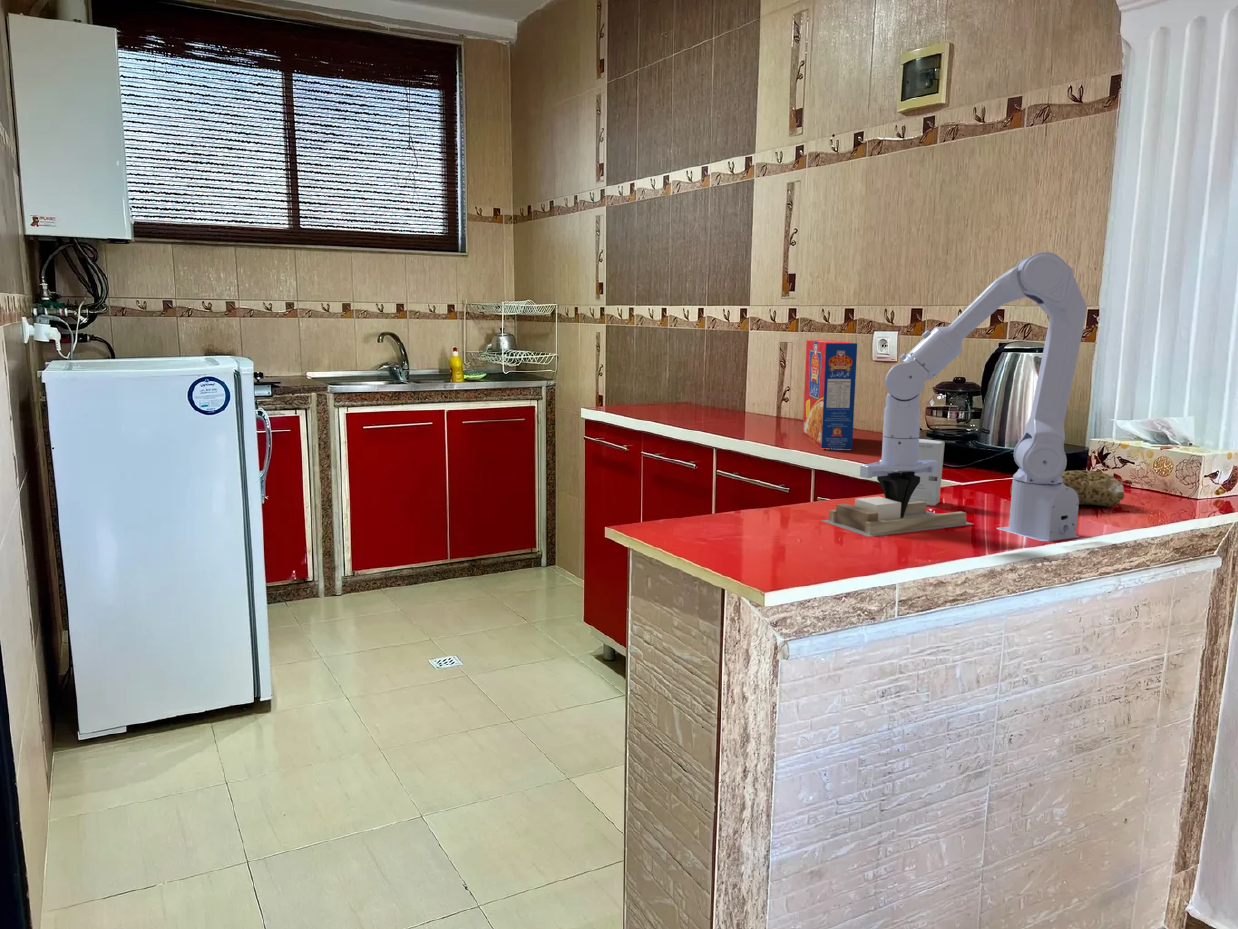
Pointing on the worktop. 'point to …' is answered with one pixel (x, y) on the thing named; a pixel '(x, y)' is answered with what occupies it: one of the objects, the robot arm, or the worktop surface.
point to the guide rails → (872, 525)
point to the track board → (893, 532)
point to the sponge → (1093, 487)
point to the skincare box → (929, 481)
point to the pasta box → (829, 393)
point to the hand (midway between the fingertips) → (896, 517)
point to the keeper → (880, 507)
